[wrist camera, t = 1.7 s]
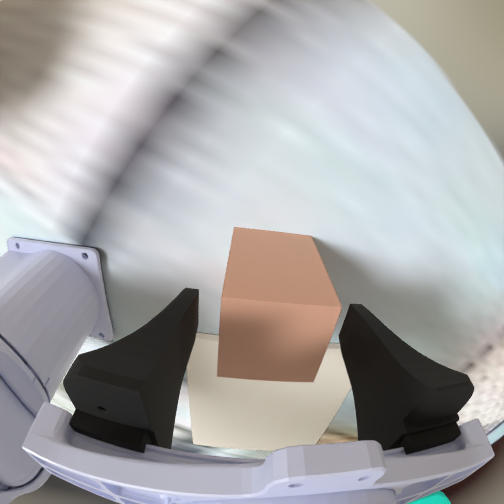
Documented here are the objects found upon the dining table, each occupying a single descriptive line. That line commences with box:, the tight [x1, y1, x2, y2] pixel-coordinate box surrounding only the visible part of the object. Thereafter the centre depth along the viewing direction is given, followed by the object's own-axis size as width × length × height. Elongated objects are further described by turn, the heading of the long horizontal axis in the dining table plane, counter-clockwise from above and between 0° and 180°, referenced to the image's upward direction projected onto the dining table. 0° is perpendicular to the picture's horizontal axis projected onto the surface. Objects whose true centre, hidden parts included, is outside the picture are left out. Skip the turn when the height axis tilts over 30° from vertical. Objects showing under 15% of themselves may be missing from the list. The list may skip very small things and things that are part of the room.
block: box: [217, 227, 342, 382], centre depth 14 cm, size 4×4×7 cm
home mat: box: [187, 333, 351, 450], centre depth 24 cm, size 14×18×1 cm
